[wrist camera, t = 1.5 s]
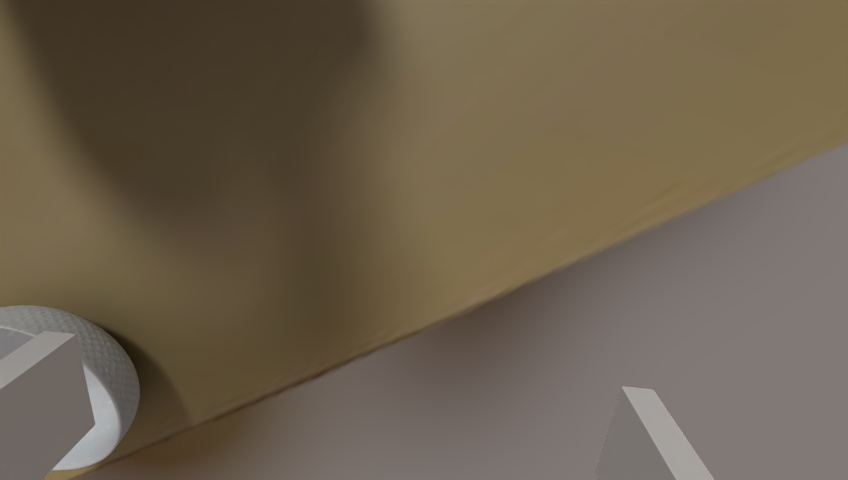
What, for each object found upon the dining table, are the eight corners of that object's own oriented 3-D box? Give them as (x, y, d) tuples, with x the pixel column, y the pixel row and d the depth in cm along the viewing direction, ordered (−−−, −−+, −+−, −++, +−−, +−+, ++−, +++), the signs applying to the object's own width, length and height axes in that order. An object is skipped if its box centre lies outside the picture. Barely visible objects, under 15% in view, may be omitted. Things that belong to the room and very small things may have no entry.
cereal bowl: (-48, 313, 44) (-131, 361, 37) (91, 257, 41) (29, 298, 35) (68, 433, 50) (15, 492, 44) (195, 391, 47) (158, 447, 41)
